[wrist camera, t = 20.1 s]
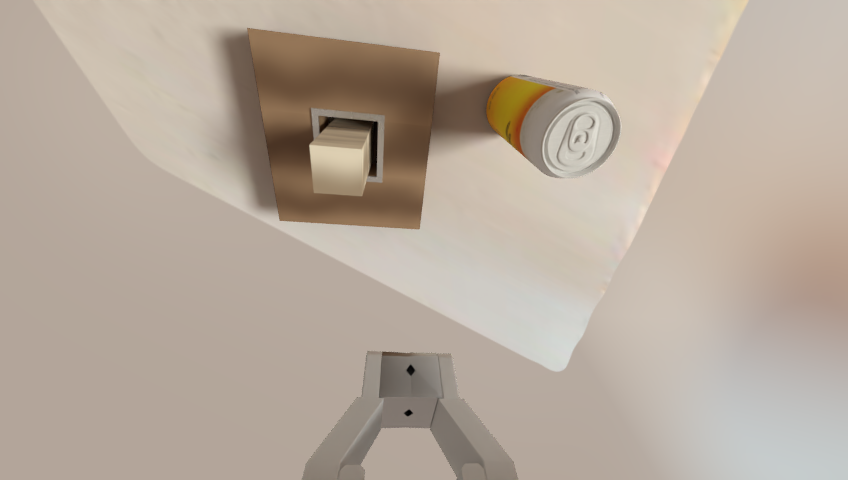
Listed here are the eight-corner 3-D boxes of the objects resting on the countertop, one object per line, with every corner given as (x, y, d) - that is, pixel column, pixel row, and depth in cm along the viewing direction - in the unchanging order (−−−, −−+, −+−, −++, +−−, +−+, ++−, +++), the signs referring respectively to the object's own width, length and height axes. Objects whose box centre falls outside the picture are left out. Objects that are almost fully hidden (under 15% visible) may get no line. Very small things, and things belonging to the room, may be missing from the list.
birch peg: (335, 117, 32) (308, 144, 23) (373, 120, 33) (362, 149, 23) (337, 154, 34) (313, 193, 25) (373, 157, 35) (362, 196, 26)
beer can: (481, 134, 34) (527, 183, 22) (488, 73, 31) (548, 89, 18) (532, 134, 35) (608, 184, 22) (545, 74, 31) (643, 92, 19)
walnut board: (266, 30, 28) (246, 27, 24) (435, 52, 30) (440, 52, 26) (290, 205, 37) (279, 221, 34) (418, 213, 39) (419, 230, 36)
